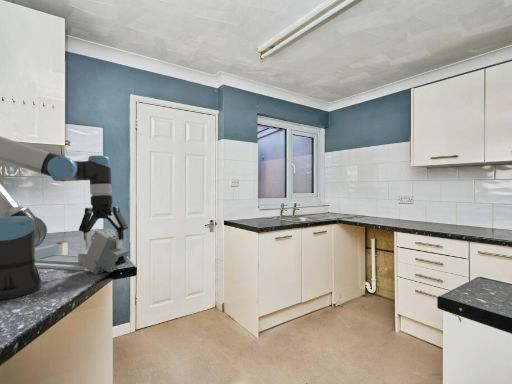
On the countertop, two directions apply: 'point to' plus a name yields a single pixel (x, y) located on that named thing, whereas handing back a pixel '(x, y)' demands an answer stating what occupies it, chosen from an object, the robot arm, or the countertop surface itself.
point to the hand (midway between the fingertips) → (104, 248)
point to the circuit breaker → (104, 252)
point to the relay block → (62, 247)
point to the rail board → (57, 259)
